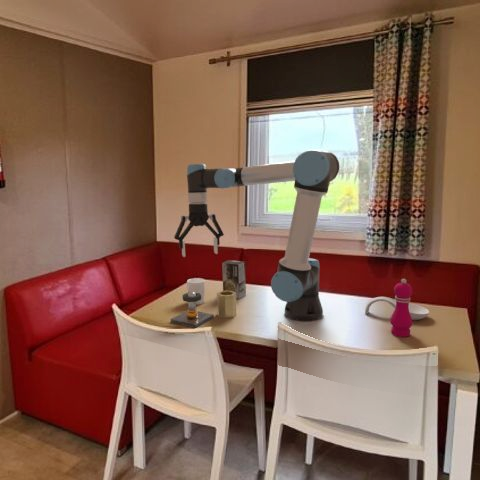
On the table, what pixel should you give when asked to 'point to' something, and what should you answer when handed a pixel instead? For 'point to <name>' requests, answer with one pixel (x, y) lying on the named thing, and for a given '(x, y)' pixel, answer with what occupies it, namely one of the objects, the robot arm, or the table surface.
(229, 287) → the coffee box
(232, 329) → the table surface
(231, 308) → the sleeve
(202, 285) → the white cup
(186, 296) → the ring
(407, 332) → the pepper mill
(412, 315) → the white curved piece
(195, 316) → the pipe stand
